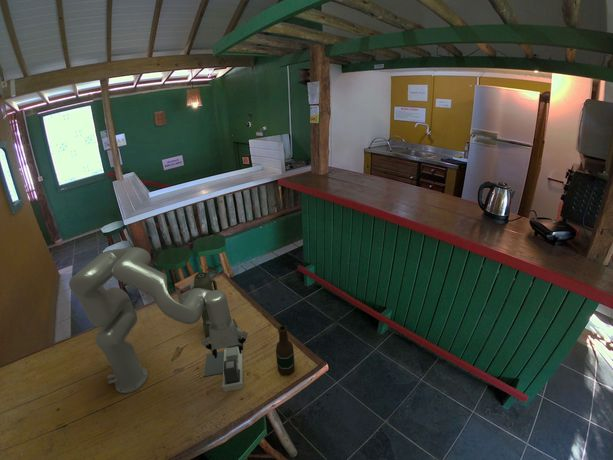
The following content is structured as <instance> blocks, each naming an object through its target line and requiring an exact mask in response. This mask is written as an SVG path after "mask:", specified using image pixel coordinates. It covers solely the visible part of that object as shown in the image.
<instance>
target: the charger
mask: <svg viewBox="0 0 613 460" xmlns="http://www.w3.org/2000/svg"><path fill="white" fill-rule="evenodd" d="M224 376H225V380H226V384H231V383H237V382H239V370H238V365H237V360H236V359H234V360H228V361H224Z"/></svg>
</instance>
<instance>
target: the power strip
mask: <svg viewBox="0 0 613 460" xmlns="http://www.w3.org/2000/svg"><path fill="white" fill-rule="evenodd" d="M223 349H224V350H223V351H224V361H228V360H234V359H236V360H237V365H238V370H239V382H237V383H231V384H226V380H225V376H224V366H223V374H222V385H221V386H222V391H223V392H224V393H225V392H226V393H227V392H230V391H236V390H240V389H241V390H242V389H244V353H243V352H244V349H243V350H242V354H240V353H239V348H238V347H231V348H228V347H225V348H223Z"/></svg>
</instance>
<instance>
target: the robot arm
mask: <svg viewBox="0 0 613 460" xmlns="http://www.w3.org/2000/svg"><path fill="white" fill-rule="evenodd" d="M151 258H152V257H151V255H150V253H149V251H147V250H146V249H144V248H142V247H137V246H136V247H135V246H133V247H130V246H129V247H122V248H115V249H108V250H106V251H103V252H101V253H100V254H99V255H97V257H95V258H94V259H93V260H91V261H90V262H89V263H87V264H86V265H85V266H84V267H83V268H82V269H81V270H79V271H78V272H76V274H74V275H72V277H70V280H69V282H68V285H69V289H70V290H71V292H72V293H73V295H74V296H75V297H76V298H77V300H78V301H79V303H80V305H81V307H82V309H83V310H84V312H85V314H86V316H87V318H88V320H89V321H90V323H91V324H92V325H93V326H94V327H97V328H100V329H99V331H97V333H96V335H95V344H96V345H97V347H98V348H99V349H100V350H101V352H102V353H103V354H104V356H105V358H106V360H107V362H108V364H109V365H110V368H111V371H112V373H113V374H107V380H108V385H110V384H115V389H116V391H117V392H118V393H120V394H122V395H123V394H124V395H125V394H131V393H133V392H135V391H137V390H139V389H140V388H141V387H143V385H145V383H146V382H147V380H148V378H149V371H148V370H147V368H146V367H144V366H142V365H141V363H140V360H139V359H138V356H137V353H136V351H135V347H134V346H133V344H132V342H130V341H127V340H126V339H127V338H128V336H129V334H130V332H131V331H132V330H133V329H134V327H135V325H136V324H137V322H138V315H137V312H136V310H135V308H134V305H133V302H132V300H131V299H130V297H129V294H128V293H127V292H126V291H125V290H123V289H122V288H119V287H116V286H115V287H114V286H113V287H109V288H107V289H106V288H105V287H104V285H105V284H107V282H108V281H109V280H111V278H115V279H116V280H118V281H119V282H120V283H123V284H126V285H127V286H130V287H132V288H134V289H136V290H139V291H140V292H143V293H145V294H147V295H149V296H151V297H152V298H153V300H154V302H155V304H156V306H157V307H158V309H160V311H161V312H162V313H163V314H164V315H165V316H166V317H168V318H170V319H172V320H174V321H177V322H180V323H181V324H186V325H193V324H196V323H197V322H198V321H199V320H200V318H202V313H203V311H204V309H205V308H207V312H208V316H209V320H206V324H210V326H209V335H210V336H209V337H208V338H207V337H206V338H205V339H203V340H202V341H201V345H202V346H203V347H205V349H207V350H210V352H211V353H212V354H213V355H214V357H215V358H217V352H218V349H219V350H220V349H226V348H228V347H231V346H235V345H238V348H239V353H240V354H242V350H243V351H244V343H245V342H246V340H247V339H248V336H249V335H248V332H245V331H241V332H240V331H237V328H236V325H235V323H234V321H233V319H234V318H232V317H231V313H230V308H229V302H228V298H227V294H226V293H225V292H224V291H223V290H221V289H218V290H214V289H213V291H211V290H206V289H202V288H195V289H193V290H191V291H190V293H189V294H188V296H187V298H186V299H185V301H184V303H183V304H180V303H179V301H176V300H175V299H174V298H173V297H172V296H171V295H170V293H169V291H168V285H167V282H168V281H167V280H168V277H167V274H166V273H165V272H162V271H160V270H158V269H156V268H153V267H152V266H149V264H150V262H151V260H152V259H151ZM238 336H241V338H240V337H238ZM242 344H243V345H242Z"/></svg>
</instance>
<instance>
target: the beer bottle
mask: <svg viewBox="0 0 613 460" xmlns="http://www.w3.org/2000/svg"><path fill="white" fill-rule="evenodd" d="M277 332H278V336H279V337H278V342H277V343H276V345H275V346H276V348H275V357H276V365H277V366H276V367H277V371H278V373H280V374H281V375H282V376H290V375H292V373H294V371H295V364H296V363H295V351H294V344H293V343H292V342H291V341H290V340H289V336H288V327H287V326H286V325H280V326H278V331H277Z"/></svg>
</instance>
